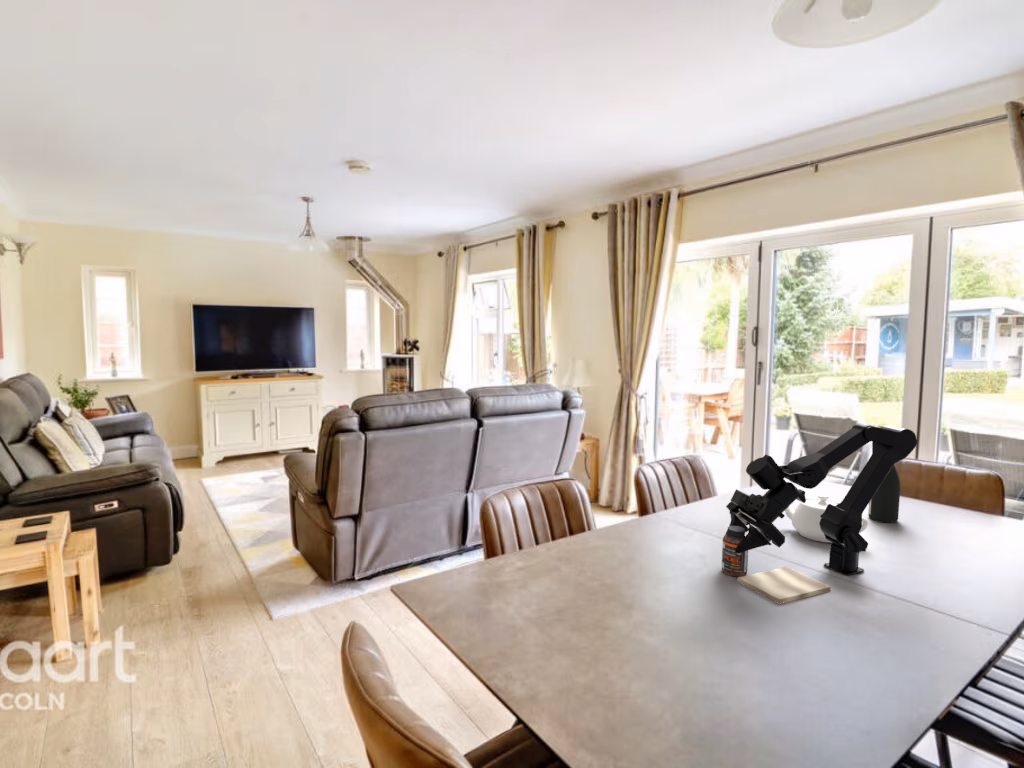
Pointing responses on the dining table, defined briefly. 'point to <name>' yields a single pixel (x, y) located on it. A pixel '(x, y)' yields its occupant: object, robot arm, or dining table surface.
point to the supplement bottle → (734, 553)
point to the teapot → (813, 517)
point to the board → (783, 584)
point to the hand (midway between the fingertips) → (729, 546)
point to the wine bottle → (886, 499)
